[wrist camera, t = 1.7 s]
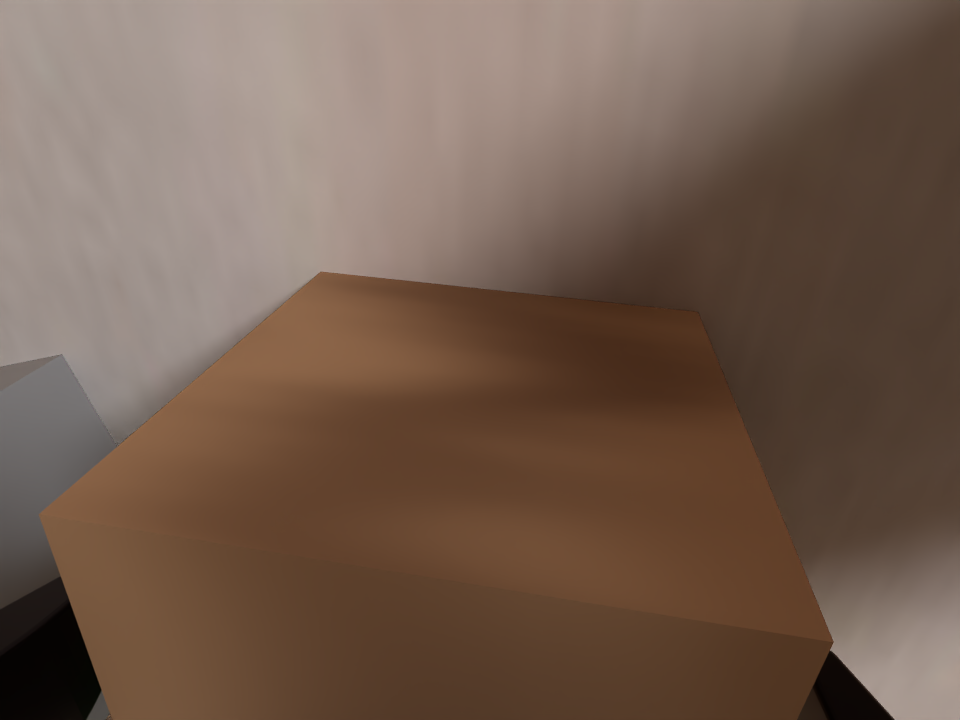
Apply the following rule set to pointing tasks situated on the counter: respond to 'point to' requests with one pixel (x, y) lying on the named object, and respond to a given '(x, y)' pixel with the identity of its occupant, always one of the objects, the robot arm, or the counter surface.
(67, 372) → the slate block
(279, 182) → the counter surface
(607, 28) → the counter surface
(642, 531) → the walnut block
